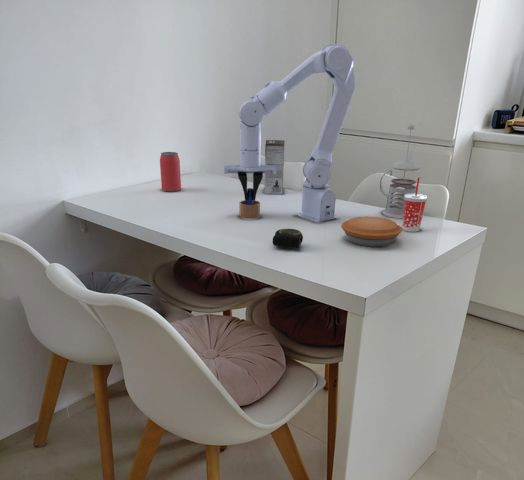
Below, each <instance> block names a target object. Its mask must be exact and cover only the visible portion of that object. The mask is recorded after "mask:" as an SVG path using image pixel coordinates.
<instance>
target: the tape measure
mask: <svg viewBox="0 0 524 480" xmlns="http://www.w3.org/2000/svg"><path fill="white" fill-rule="evenodd" d="M303 239H304V236H303V233H302V232H301V230H298V229H295V228H281V229H278V230H276V231H275V233H274V235H273V236H272V245H273V246H274V247H279V248H284V249H286V250H288V249H300V247H301V245H302V243H303Z"/></svg>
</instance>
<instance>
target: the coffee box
mask: <svg viewBox="0 0 524 480" xmlns="http://www.w3.org/2000/svg"><path fill="white" fill-rule="evenodd" d="M285 141H286V140H284V139H265V145H264V146H265V147H264V148H265V150H264V165H269V166H276V167H277V168H276V174H264V194H265V195H266V194H267V195H283V192H284V174H285V172H284V171H285V150H286V149H285V145H286V144H285V143H286V142H285Z"/></svg>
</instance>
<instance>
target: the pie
mask: <svg viewBox="0 0 524 480" xmlns="http://www.w3.org/2000/svg"><path fill="white" fill-rule="evenodd" d="M402 227H403V226H401V225H399V224H398V223H397V222H395V221H394V220H392V219H388V218H384V217H380V216H368V215H367V216H365V215H364V216H355V217H351V218H349V219H347V220H344V221H343V222H342V223H341V225H340V228H341V229H342V231H344V234H345V236H346V238H347V240H348V241H349V242H350V243H352V244H355V245H357V246H362V247H367V248H368V247H369V248H380V247H381V248H382V247H387V246H389V245H392V243H394V241H395V240H396V238H397V237H398V236H400V234H401V233H402V232H404V230H403V229H402Z"/></svg>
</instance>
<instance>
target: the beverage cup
mask: <svg viewBox="0 0 524 480" xmlns="http://www.w3.org/2000/svg"><path fill="white" fill-rule="evenodd" d="M420 179H421V178H420V176H417V180H416V185H415V186H416V192H415V194H406V195H404V199H405V203H404V215H403V218H402V226H401V227H402V229H403V231H406V232H409V233H411V232H412V233H413V232H414V233H415V232H420V230H421V229H420V228H421V225H422V221H423V215H424V211H425V207H426V203H427V201H428V196H427V195H425V194H421V193H418V192H419V191H418V190H419V184H420Z"/></svg>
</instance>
